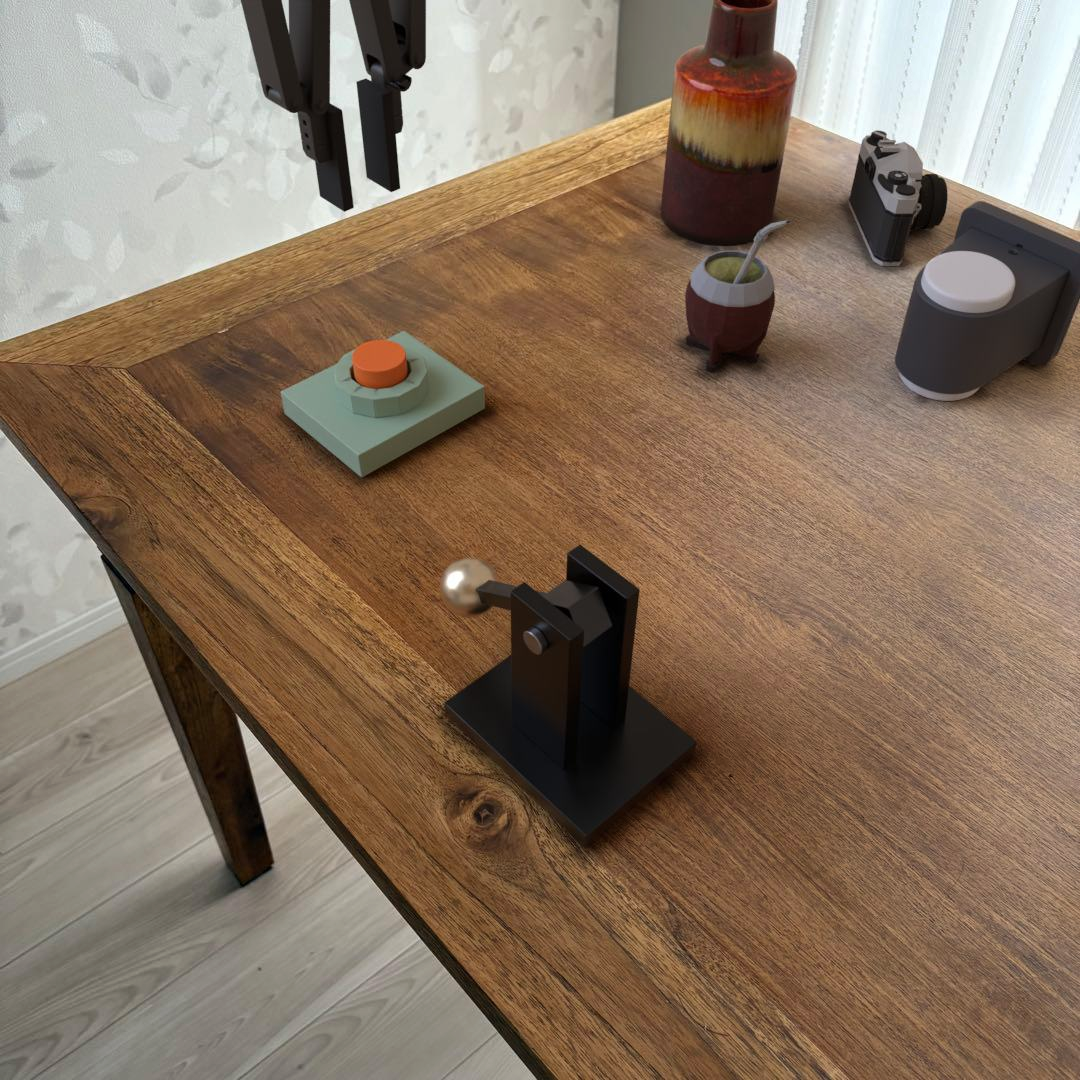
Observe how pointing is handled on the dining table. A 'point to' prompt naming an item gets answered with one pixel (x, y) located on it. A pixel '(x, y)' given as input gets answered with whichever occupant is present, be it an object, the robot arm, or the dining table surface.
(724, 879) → the dining table surface
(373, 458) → the button box
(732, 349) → the mate gourd
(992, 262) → the light fixture
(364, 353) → the button
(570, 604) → the switch lever
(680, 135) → the vase
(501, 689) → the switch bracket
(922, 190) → the camera
